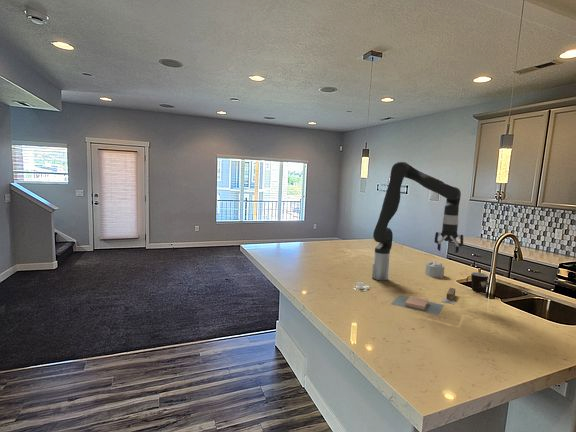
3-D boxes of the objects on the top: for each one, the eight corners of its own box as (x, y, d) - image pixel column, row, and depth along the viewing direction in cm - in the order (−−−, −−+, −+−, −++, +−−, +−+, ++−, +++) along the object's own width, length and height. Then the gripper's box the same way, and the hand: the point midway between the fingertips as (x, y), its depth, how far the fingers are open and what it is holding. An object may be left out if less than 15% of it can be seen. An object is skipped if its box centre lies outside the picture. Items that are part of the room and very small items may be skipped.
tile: (410, 299, 167) (404, 305, 158) (410, 296, 167) (405, 302, 158) (428, 303, 162) (424, 310, 153) (429, 300, 162) (424, 306, 153)
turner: (441, 303, 165) (441, 295, 165) (446, 293, 180) (446, 287, 180) (453, 306, 162) (454, 298, 162) (458, 296, 177) (458, 289, 176)
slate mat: (390, 305, 160) (390, 303, 160) (399, 296, 173) (399, 295, 173) (438, 316, 148) (438, 315, 148) (443, 306, 161) (443, 304, 161)
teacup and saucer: (369, 288, 186) (370, 281, 185) (367, 292, 179) (367, 285, 178) (355, 286, 190) (355, 279, 189) (351, 290, 182) (352, 283, 182)
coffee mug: (484, 289, 190) (486, 273, 189) (488, 294, 182) (490, 277, 180) (462, 286, 193) (464, 270, 192) (465, 291, 185) (467, 274, 184)
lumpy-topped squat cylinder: (430, 277, 212) (431, 264, 211) (421, 271, 225) (422, 259, 224) (445, 277, 212) (446, 265, 211) (436, 272, 225) (437, 260, 224)
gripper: (435, 222, 177) (432, 251, 179) (464, 225, 169) (461, 254, 171) (437, 221, 183) (435, 248, 185) (465, 223, 175) (462, 252, 177)
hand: (447, 251), depth 178 cm, fingers open, 8 cm apart
